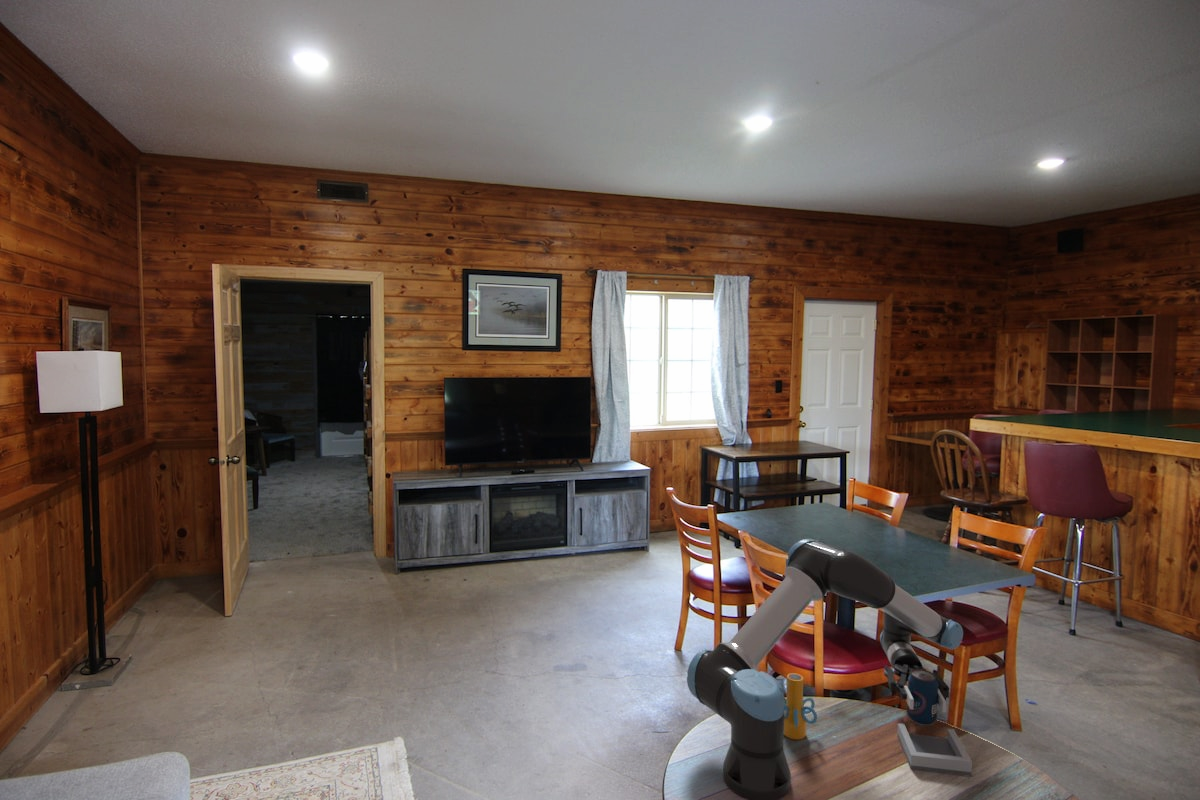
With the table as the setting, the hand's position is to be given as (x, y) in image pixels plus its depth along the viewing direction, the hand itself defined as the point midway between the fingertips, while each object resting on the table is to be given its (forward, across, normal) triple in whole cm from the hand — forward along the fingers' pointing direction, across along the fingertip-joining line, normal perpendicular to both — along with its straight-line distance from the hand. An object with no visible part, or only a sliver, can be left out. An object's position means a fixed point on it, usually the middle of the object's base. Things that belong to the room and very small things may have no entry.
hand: (928, 705), depth 163 cm
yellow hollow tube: (+3, +32, -10) cm, 34 cm away
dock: (+6, 0, -9) cm, 11 cm away
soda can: (-5, 0, -7) cm, 8 cm away
